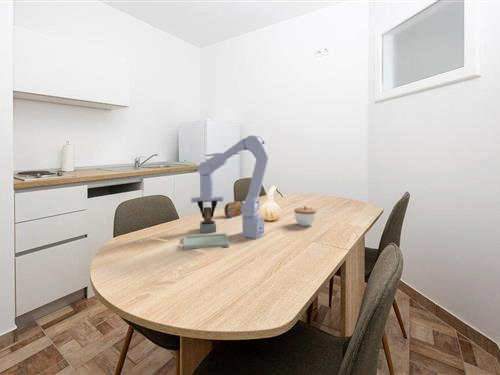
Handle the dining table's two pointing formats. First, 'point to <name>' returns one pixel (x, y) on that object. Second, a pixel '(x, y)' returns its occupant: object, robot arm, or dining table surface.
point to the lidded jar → (305, 216)
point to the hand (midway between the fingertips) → (207, 217)
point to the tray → (205, 241)
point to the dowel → (207, 215)
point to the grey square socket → (207, 227)
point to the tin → (233, 209)
